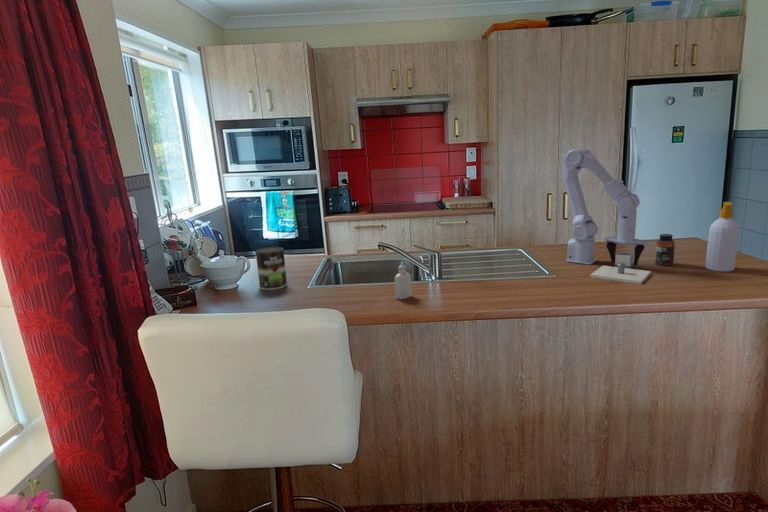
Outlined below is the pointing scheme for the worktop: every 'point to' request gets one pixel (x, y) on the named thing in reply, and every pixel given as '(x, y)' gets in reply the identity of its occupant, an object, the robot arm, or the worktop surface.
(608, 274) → the pin board
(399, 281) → the eye dropper bottle
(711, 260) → the soap bottle
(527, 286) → the worktop surface
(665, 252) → the supplement bottle
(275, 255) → the coffee can
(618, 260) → the sleeve
